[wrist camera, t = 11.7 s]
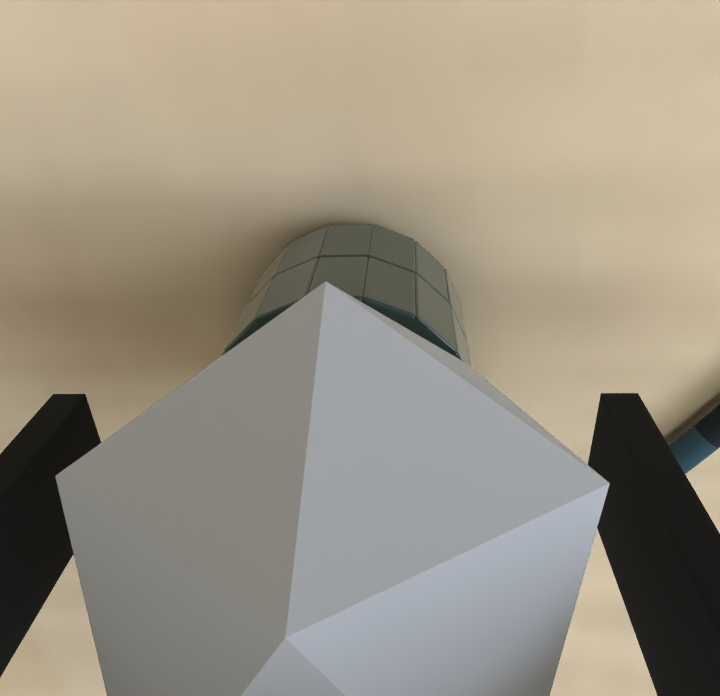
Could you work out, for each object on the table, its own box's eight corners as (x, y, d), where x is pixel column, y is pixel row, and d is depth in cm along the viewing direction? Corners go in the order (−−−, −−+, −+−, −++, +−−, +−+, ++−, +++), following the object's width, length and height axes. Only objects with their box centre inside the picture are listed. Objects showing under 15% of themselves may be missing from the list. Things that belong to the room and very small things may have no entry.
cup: (271, 396, 21) (233, 510, 17) (246, 219, 18) (190, 299, 13) (454, 395, 21) (469, 514, 16) (461, 214, 18) (483, 295, 13)
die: (283, 142, 12) (-237, 555, 7) (767, 311, 9) (393, 1334, 4) (326, 386, 19) (69, 690, 14) (611, 539, 15) (402, 1019, 10)
